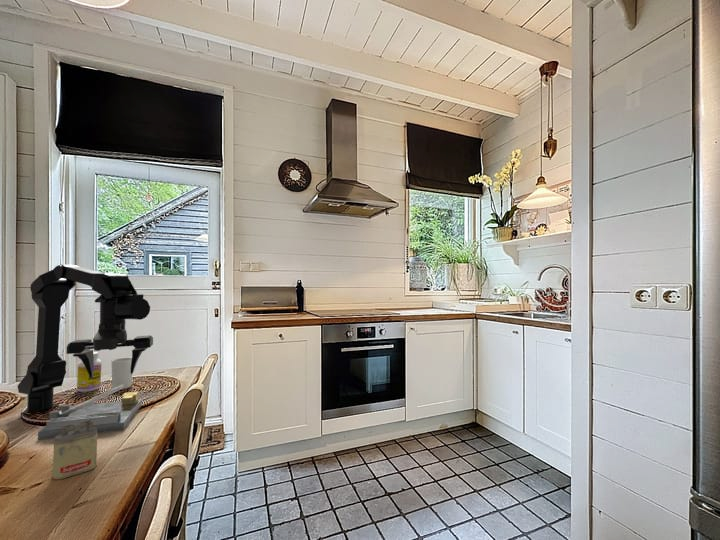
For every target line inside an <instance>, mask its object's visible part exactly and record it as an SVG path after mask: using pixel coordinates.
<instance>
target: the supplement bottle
mask: <svg viewBox="0 0 720 540" xmlns="http://www.w3.org/2000/svg"><path fill="white" fill-rule="evenodd" d="M98 357H99V351H93V360H94V374H93V377H92V378H90V376H89V374H88V372H87V370H86V367H85V365H84V363H83V362H82V360H80V361H79V362H78V363H77V375H76V377H77V378H76V379H77V380H76V390H77V392H81V393H87V391H88V392H93V391H96V390H98V389H100V388H101V386H102V385H101V384H102V382H101V381H102V379H101V378H102V360H101V359H99V358H98Z"/></svg>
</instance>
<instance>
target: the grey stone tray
mask: <svg viewBox="0 0 720 540" xmlns="http://www.w3.org/2000/svg"><path fill="white" fill-rule="evenodd" d="M77 405H78V404H77ZM77 405H71V406H70V404H61V405H59V406H58V410H51V411H49V420H48V421H46V423H45V424H46V425H45V426H43V428H41V429H40V430H39V431H37V441H42V440H43V441H44V440H50V439H54V438H55V437H56V436H57V435H59V434H62V433H63V432H62V431H63V430H62V426H65V425H72V424H77V423H81V422H85V421H87V420H89V419H92V422H93V426H92V427H96V428H97V434H100V433H101V434H102V433H110V432H111V433H112V432H118V431H120V432H121V431H124V430H125V429H126V427H127V426H128V425H129V424H130V422H131V421H132V419H133V418H134V417H135V416H136V414H137V412H139V410H140V409H141V407H142V406H143V399H142V398H138V401H137V403H136V404H127V405H122V400H119V401H110V402H109V401H107V402H99V403H96V402H95V403H91V404H89V405H87V406H85V407H83V408H81V409H79V410H77V411H75V412H73V413H70V414H68V415H66V416H64V417H62V418H61V412H64V411H66V410H68V409H71V408H73V407H75V406H77ZM141 405H142V406H141ZM83 424H86V423H83ZM70 427H71V426H70ZM84 428H87V427H84ZM81 429H83V428H81ZM71 431H73V430H71ZM68 432H70V431H68Z"/></svg>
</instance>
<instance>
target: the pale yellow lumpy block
mask: <svg viewBox="0 0 720 540" xmlns="http://www.w3.org/2000/svg"><path fill="white" fill-rule="evenodd" d="M139 395H140V393H139V391H129V392H124V393H123V394H121V401H122V405H127V404H136V403H137V401H138V400H139V399H140V398H139Z"/></svg>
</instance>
